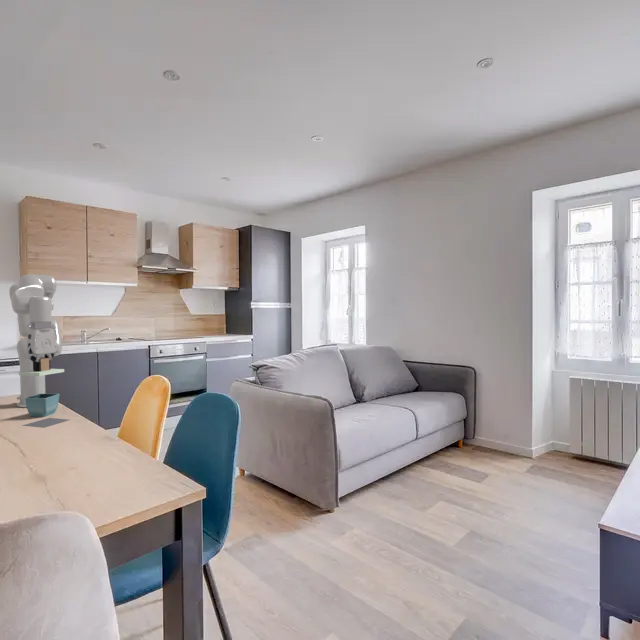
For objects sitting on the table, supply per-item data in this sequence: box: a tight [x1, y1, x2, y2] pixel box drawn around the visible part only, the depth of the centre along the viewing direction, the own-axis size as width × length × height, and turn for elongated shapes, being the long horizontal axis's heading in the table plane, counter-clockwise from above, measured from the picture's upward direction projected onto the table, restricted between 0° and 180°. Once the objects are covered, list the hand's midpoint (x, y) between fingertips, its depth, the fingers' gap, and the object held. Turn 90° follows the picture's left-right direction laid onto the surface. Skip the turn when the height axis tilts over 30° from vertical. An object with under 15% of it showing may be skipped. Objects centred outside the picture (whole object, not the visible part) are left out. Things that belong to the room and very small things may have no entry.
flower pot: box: [25, 393, 60, 418], centre depth 167 cm, size 9×9×9 cm
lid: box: [18, 357, 65, 376], centre depth 167 cm, size 11×11×6 cm
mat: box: [22, 417, 69, 429], centre depth 156 cm, size 11×11×1 cm
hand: (42, 370), depth 167 cm, fingers closed on lid, 3 cm apart
